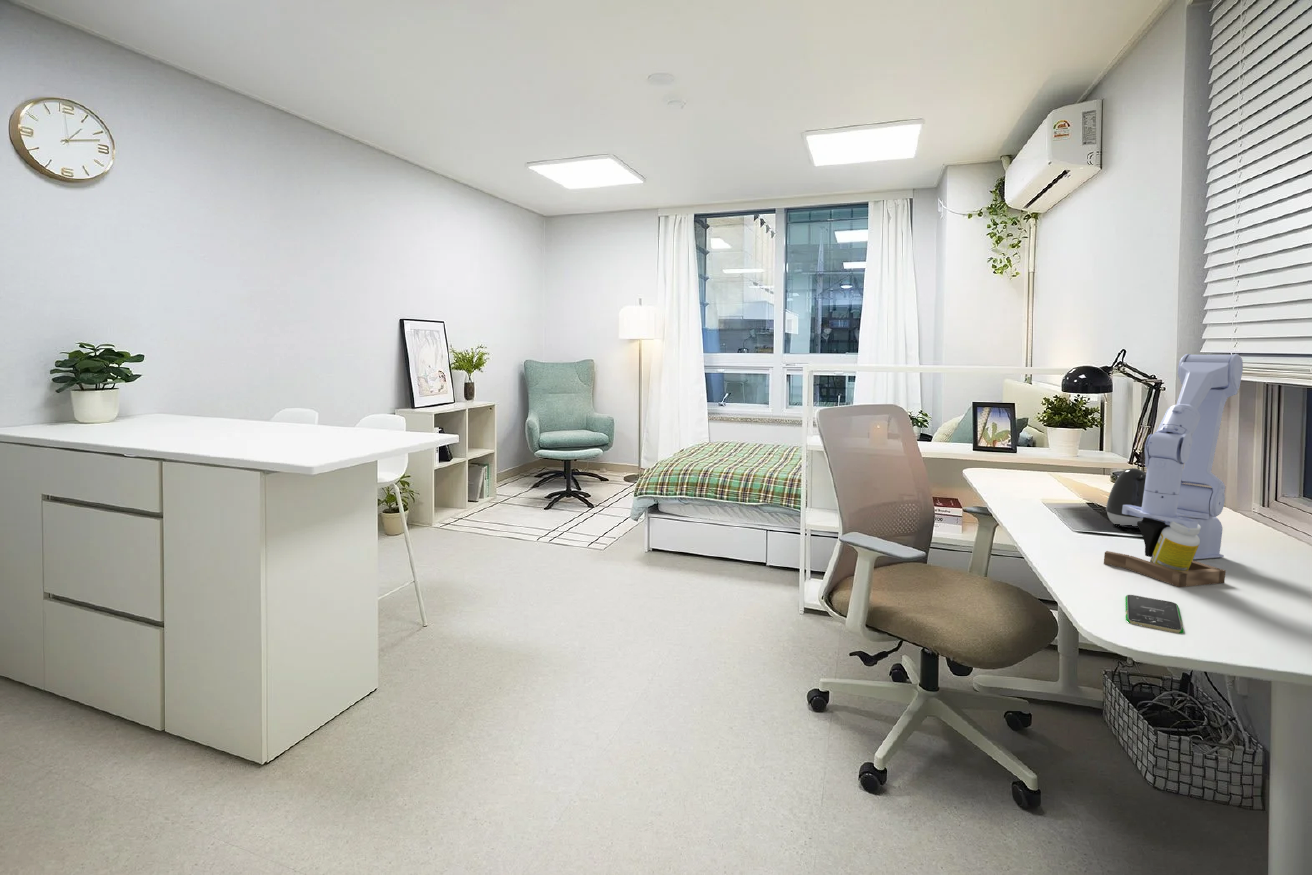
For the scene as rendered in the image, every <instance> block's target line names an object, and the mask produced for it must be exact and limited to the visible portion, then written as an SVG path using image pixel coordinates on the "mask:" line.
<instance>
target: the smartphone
mask: <svg viewBox="0 0 1312 875" xmlns="http://www.w3.org/2000/svg"><path fill="white" fill-rule="evenodd" d="M1126 620H1127V621H1128V622H1129V623H1132V624H1131V625H1133V624H1138V625H1137V626H1139V625H1142V626H1141V627H1144V626H1145V627H1144V628H1149V627H1150V628H1149V629H1154V630H1159V629H1161V630H1160V631H1164V630H1166V631H1165V632H1169V631H1170V632H1169V633H1176V634H1184V632H1185V631H1184V628H1183V627H1184V626H1183V624H1182V616H1181V612H1180V609H1179V605H1178V603H1175V602H1174V601H1173V602H1172V601H1169V600H1162V599H1158V598H1151V597H1145V596H1141V595H1140V596H1139V595H1135V594H1127V595H1126V596H1125V621H1126ZM1129 623H1128V624H1129Z"/></svg>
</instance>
